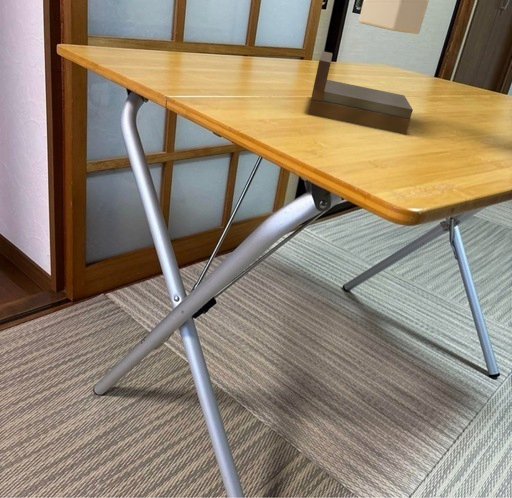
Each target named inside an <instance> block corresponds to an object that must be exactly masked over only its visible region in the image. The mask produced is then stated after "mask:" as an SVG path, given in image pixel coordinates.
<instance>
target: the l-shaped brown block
mask: <svg viewBox="0 0 512 498" xmlns="http://www.w3.org/2000/svg"><path fill="white" fill-rule="evenodd" d="M332 59H333V52H328V51H321V55H320V57H319V59H318V64H317V69H316V73H315V79H314V83H313V86H312V92H311V96H310V102H309V106H308V110H307V115H308V116H314V117H318V118H323V119H328V120H332V121H333V120H334V121H338V122H342V123H348V124H353V125H357V126H362V127H368V128H372V129H375V130H376V129H377V130H381V131H386V132H390V133H396V134H401V135H407V132H408V129H409V126H410V123H411V118H412V114H413V111H414V109H413V107H412V106H411V104H410V102H409V101H408V99H407V97H406V96H405V95H404V94H399V93H395V92H394V93H393V92H390V91H385V90H380V89H376V88H375V89H374V88H371V87H366V86H361V85H355V84H351V83H346V82H341V81H335V80H330V79H328V76H329V73H330V69H331V63H332Z"/></svg>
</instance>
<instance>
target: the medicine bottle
mask: <svg viewBox="0 0 512 498" xmlns="http://www.w3.org/2000/svg"><path fill="white" fill-rule="evenodd" d="M429 2H430V0H363V2H362V5H361V10H360V14H359V18H358V23H359V24H362V25H366V26H369V27H370V26H371V27H374V28H379V29H383V30H387V31H391V32H398V33H405V34H413V35H419V34H420V32H421V28H422V26H423V22H424V19H425V15H426V12H427V9H428V5H429Z"/></svg>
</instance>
